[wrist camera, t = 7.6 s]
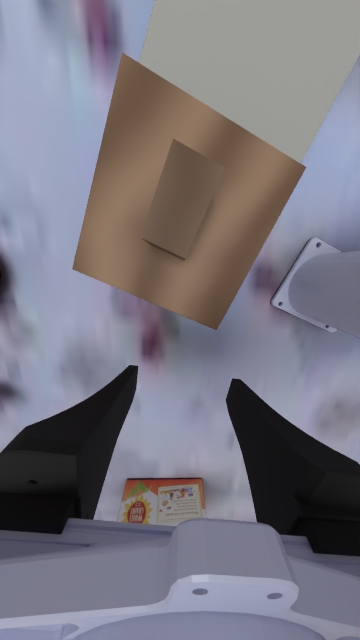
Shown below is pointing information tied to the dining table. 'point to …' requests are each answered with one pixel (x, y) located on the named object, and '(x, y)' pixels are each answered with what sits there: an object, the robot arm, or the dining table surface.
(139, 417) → the dining table surface
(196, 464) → the dining table surface
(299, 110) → the mat
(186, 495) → the cracker box
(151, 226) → the lid
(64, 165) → the dining table surface
